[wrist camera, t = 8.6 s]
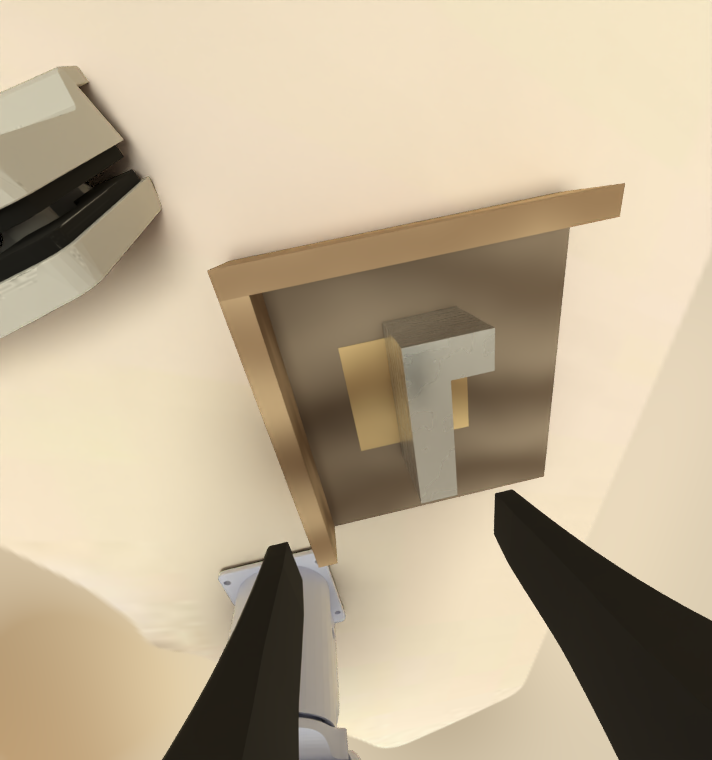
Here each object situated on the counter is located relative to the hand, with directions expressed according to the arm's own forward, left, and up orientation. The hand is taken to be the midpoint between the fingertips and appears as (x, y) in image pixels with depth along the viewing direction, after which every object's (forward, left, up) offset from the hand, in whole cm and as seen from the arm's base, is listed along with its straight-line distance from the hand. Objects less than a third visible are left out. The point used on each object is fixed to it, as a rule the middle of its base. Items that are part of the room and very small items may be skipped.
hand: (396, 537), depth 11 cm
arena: (-1, -4, -10) cm, 11 cm away
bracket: (0, -3, -9) cm, 9 cm away
